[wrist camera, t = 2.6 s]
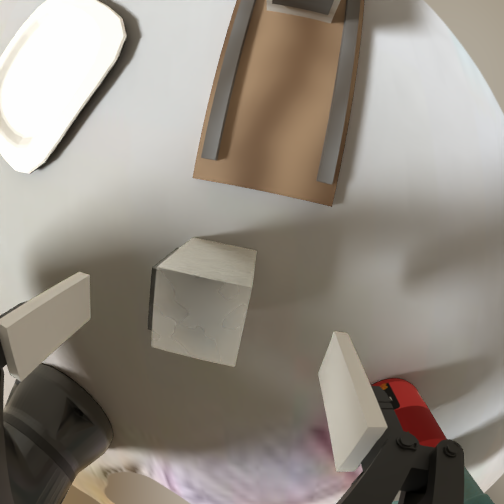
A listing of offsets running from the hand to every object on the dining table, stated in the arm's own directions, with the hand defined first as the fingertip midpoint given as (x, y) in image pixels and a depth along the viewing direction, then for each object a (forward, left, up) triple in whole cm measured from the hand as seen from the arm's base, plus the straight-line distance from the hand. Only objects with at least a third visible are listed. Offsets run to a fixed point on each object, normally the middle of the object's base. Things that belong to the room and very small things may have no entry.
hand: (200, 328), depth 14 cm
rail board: (+2, +17, -9) cm, 19 cm away
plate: (-22, +16, -10) cm, 29 cm away
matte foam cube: (0, 0, -9) cm, 9 cm away
